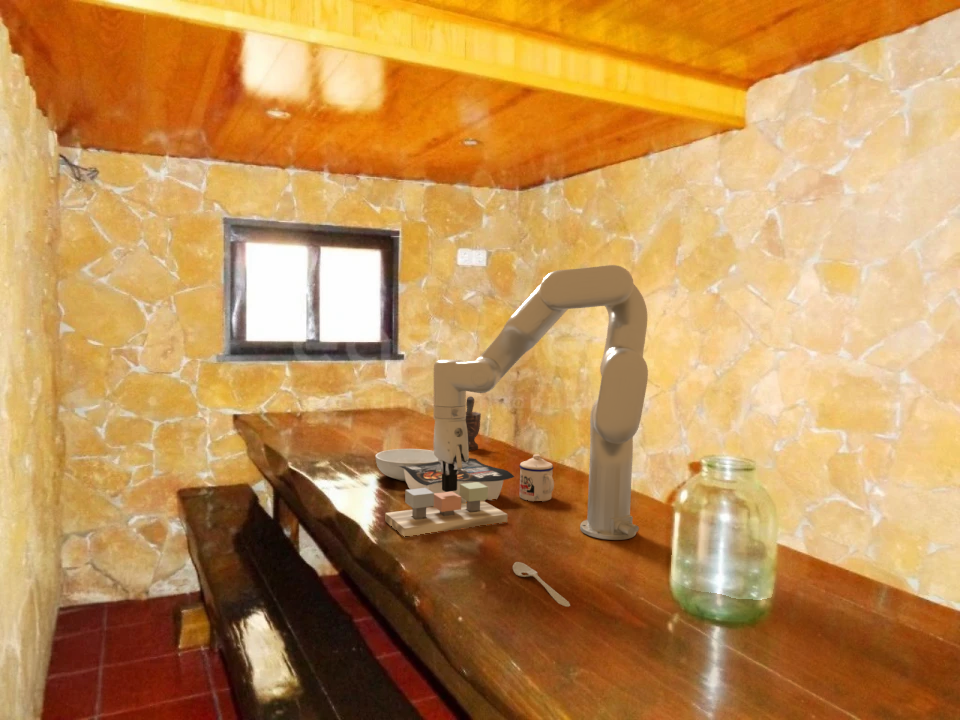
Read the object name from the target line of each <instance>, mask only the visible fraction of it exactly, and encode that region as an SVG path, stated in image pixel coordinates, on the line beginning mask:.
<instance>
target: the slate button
mask: <svg viewBox="0 0 960 720" xmlns="http://www.w3.org/2000/svg"><path fill="white" fill-rule="evenodd" d="M404 495H405V496H404V500H405V503H404V504H406V505H408V506H409V507H410V508H412V509H411V510H412V516H414V517H415V518H423V517H426V508H429V507H433V506H434V493H433V492H431V491H430V490H428V489H427V488H418V489H405V494H404Z"/></svg>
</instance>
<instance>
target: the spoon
mask: <svg viewBox="0 0 960 720" xmlns="http://www.w3.org/2000/svg"><path fill="white" fill-rule="evenodd" d="M512 570H513V573H514V574H515V575H516V576H519V577H522V578H529V577H533V578H535V580H537V582H539V583H540V584H541V585H542V586H543V587H544V589H545V590H546V591H547V593H548V594H549V596H550V597H551V598H552V599H553V600H554V601H555V602H557V603H558V604H559V605H562V606H563V607H571V603H570V602H569V601H568V600H567V599H566V598H565V597H563V596H562V595H561V594H559V593H558V592H557V591H556V590H555V589H554V588H552V587H551V586H550V585H549V584H548V583H546V582H545V581H544V580H543V579H542V578H541V577H540V576H539V575H538V571H536V570H535V569H533V568H531V567H530V566H529V565H527V564H525V563H524V562H521V561H515V562H514V563H513V565H512ZM522 573H525V575H523V574H522Z"/></svg>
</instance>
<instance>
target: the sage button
mask: <svg viewBox="0 0 960 720" xmlns="http://www.w3.org/2000/svg"><path fill="white" fill-rule="evenodd" d="M460 496H461V497H462V498H463V499H465V500H467V507H466V508H467V509H468V510H470V511H476V510H480V500H485V501H486V500H488V487H487V486H485V485H483V484H481V483H479V482H474V483H464V484H460Z"/></svg>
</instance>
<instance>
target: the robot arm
mask: <svg viewBox="0 0 960 720" xmlns="http://www.w3.org/2000/svg"><path fill="white" fill-rule="evenodd" d="M595 307H605V309H606V311H607V314H608V325H607V333H606V339H605V345H604V351H603V355H602V359H601V361H600V367H599V368H600V369H599V372H600V375H601V379H600V385H599V391H598V397H597V399H596V400H595V401H594V403H593V405H592V407H591V411H590V416H589V418H590V420H589V423H590V424H589V427H590V431H589V432H590V434H589V436H590V437H589V438H590V440H589V441H590V443H589V463H588V464H589V468H588V470H589V471H588V492H587V493H588V495H587V497H588V498H587V518H586V519H585V520H583V521H582V522H581V523H580V527H579V528H580V531H581V532H582V533H584V534H585V535H587V536H588V537H592V538H596V539H601V540H609V541H621V540H622V541H623V540H628V539H631V538H634V537H635V536H636V534H637V533H638V531H639V529H640V527H639V526H638V525H637V524H634V523H633V518H634V517H633V516H632V515H631V503H632V502H631V495H632V476H633V475H632V473H633V472H632V471H633V456H634V455H633V454H634V452H633V451H634V450H633V449H634V444H633V443H634V436H635V435H636V433H637V432H638V430H639V428H640V425H641V421H642V420H641V419H642V414H643V408H644V405H645V404H644V403H645V398H646V391H647V386H648V380H649V379H648V378H649V369H648V365H647V364H648V363H647V362H646V359H645V358H644V350H645V346H646V345H645V344H646V335H647V330H648V329H647V328H648V309H647V305H646V302H645V299H644V297H643V295H642V293H641V291H640V290H639V288H638V286H637V285H636V284H635V283H634V279H633V276H632V275H631V273H630V272H629V271H628V270H627V269H626V268H625V267H623V266H620V265H615V264H609V265H600V266H591V267H583V268H582V267H581V268H569V269H557V270H553V271H551V272H549V273H548V274H546V275H545V277H543V279H542V280H541V283H540V284H539V285H538V286H537V287H536V288H535V289H534V290H533V292H532V293H531V294H530V295H529V296H528V297H527V299H525V301H524V302H522V304H521V305H520V306H519V307H518V308H517V309H516V310H515V312H514V313H512V314H511V316H510V317H509V318H508V320H507V321H506V323H505V324H504V326H503V328H502V329H501V332H500V333H499V334H498V335H497V336H496V338H495V339H494V340H493V341H492V342H491V343H490V345H488V347H487V348H486V349H485V350H484V351H483V353H482V354H481V355H480V356H479V357H477V358H476V360H471V361H463V360H460V359H450V358H449V359H439V360H436V361H435V362H434V363H433V420H434V427H433V428H434V429H433V451H434V455H435V456H436V457H437V458H438V461H439V462H440V464H441V472H442V473H443V474H442V490H443V491H445V492H449V491H456V490H457V474H458V469H462V462H467V461H468V459H469V458H470V457H469V450H468V433H467V425H466V420H465V419H466V412H467V406H466V402H467V392H470V393H478V394H484V393H485V394H486V393H488V392H490V391H492V390H494V388H495V387H496V385H497V384H498V383H499V382H500V380H502V378H503V377H504V376H505V375H506V374H507V373H508V372H509V371H510V370H511V368H512V367H513V366H514V365H515V364H516V363H517V362H518V361H519V360H520V359H521V358H522V357H523V356H524V355H525V354H526V353H527V352H529V351H530V350H532V349H533V348H534V347H535V346H536V345H537V344H538V343H539V342H540V341H541V340H542V338H543V337H544V336H545V335H546V334H547V333H548V332H549V330H550V329H552V327H553V326H554V325H555V324H556V323H557V322H558V321H559V320H560V319H561V318H562V316H563V315H565V313H566V312H567V311H568V310H569V309H585V308H595ZM453 460H454V461H453ZM461 461H462V462H461Z"/></svg>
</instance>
